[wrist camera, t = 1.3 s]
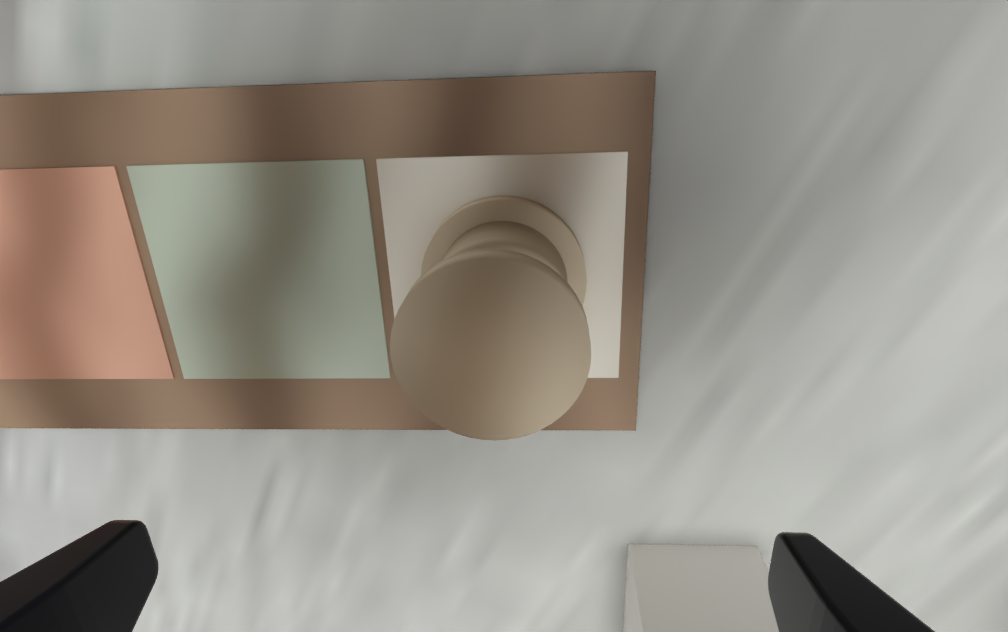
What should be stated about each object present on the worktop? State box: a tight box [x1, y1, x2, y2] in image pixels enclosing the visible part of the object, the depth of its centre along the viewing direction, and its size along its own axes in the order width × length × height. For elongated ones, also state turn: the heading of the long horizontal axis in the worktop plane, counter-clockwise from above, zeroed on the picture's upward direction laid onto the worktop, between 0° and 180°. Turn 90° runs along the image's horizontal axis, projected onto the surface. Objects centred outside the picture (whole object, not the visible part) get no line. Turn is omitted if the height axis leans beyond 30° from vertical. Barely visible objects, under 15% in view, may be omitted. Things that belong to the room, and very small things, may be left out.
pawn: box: [390, 195, 591, 440], centre depth 17 cm, size 5×5×6 cm
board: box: [0, 71, 656, 430], centre depth 21 cm, size 25×12×1 cm, turn 92°
